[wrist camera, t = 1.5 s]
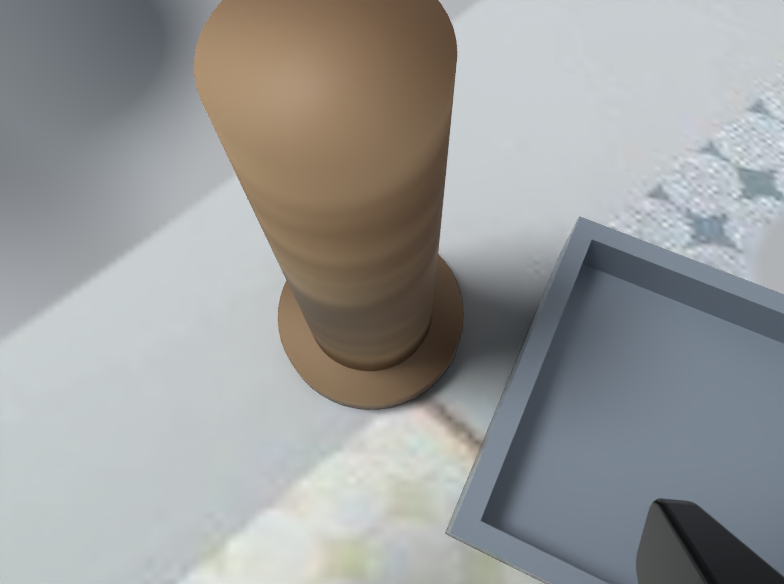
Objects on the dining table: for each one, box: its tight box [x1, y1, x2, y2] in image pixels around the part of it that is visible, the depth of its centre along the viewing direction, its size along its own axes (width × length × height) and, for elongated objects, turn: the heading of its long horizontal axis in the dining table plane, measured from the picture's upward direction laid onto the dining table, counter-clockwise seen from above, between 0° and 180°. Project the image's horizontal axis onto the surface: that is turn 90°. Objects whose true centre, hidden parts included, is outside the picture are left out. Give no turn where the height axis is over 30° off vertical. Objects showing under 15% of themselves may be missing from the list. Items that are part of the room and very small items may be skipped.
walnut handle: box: [194, 0, 463, 409], centre depth 15 cm, size 6×6×12 cm
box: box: [445, 217, 784, 584], centre depth 18 cm, size 10×10×2 cm
